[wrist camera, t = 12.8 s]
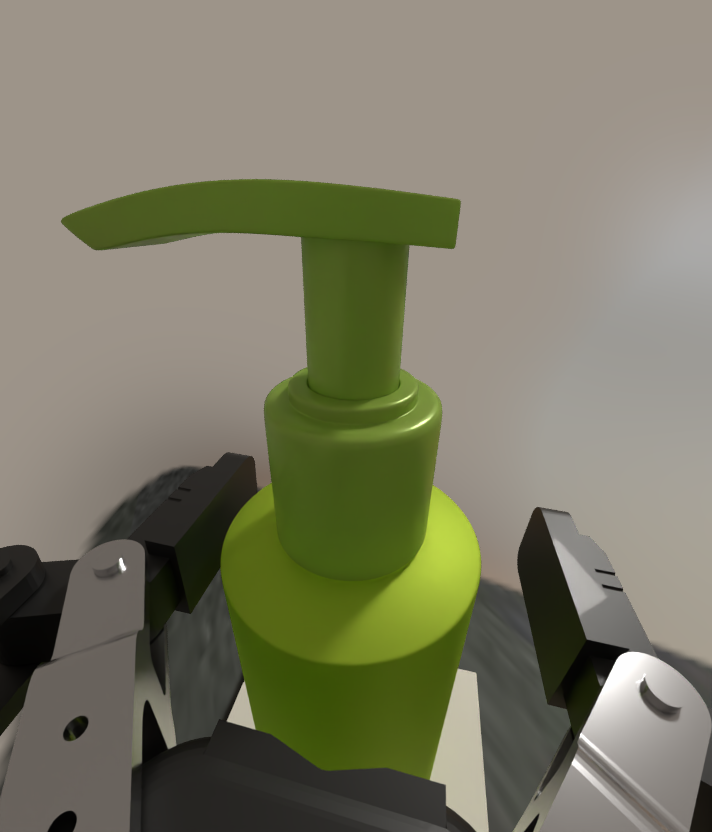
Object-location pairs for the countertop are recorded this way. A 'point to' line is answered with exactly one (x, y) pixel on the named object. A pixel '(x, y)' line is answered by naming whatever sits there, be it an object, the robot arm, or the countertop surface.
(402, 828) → the robot arm
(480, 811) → the cream tile
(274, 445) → the soap dispenser
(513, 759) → the countertop surface
